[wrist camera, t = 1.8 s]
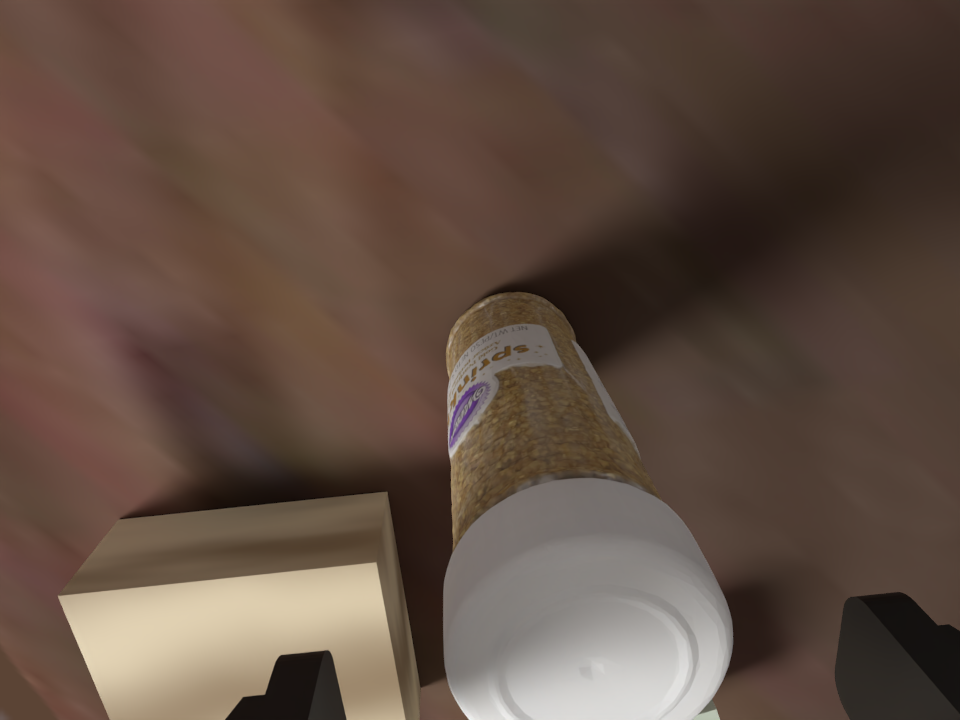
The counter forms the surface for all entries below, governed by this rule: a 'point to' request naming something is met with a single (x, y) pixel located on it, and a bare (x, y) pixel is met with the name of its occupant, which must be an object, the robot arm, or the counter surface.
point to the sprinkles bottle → (563, 540)
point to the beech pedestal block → (245, 608)
